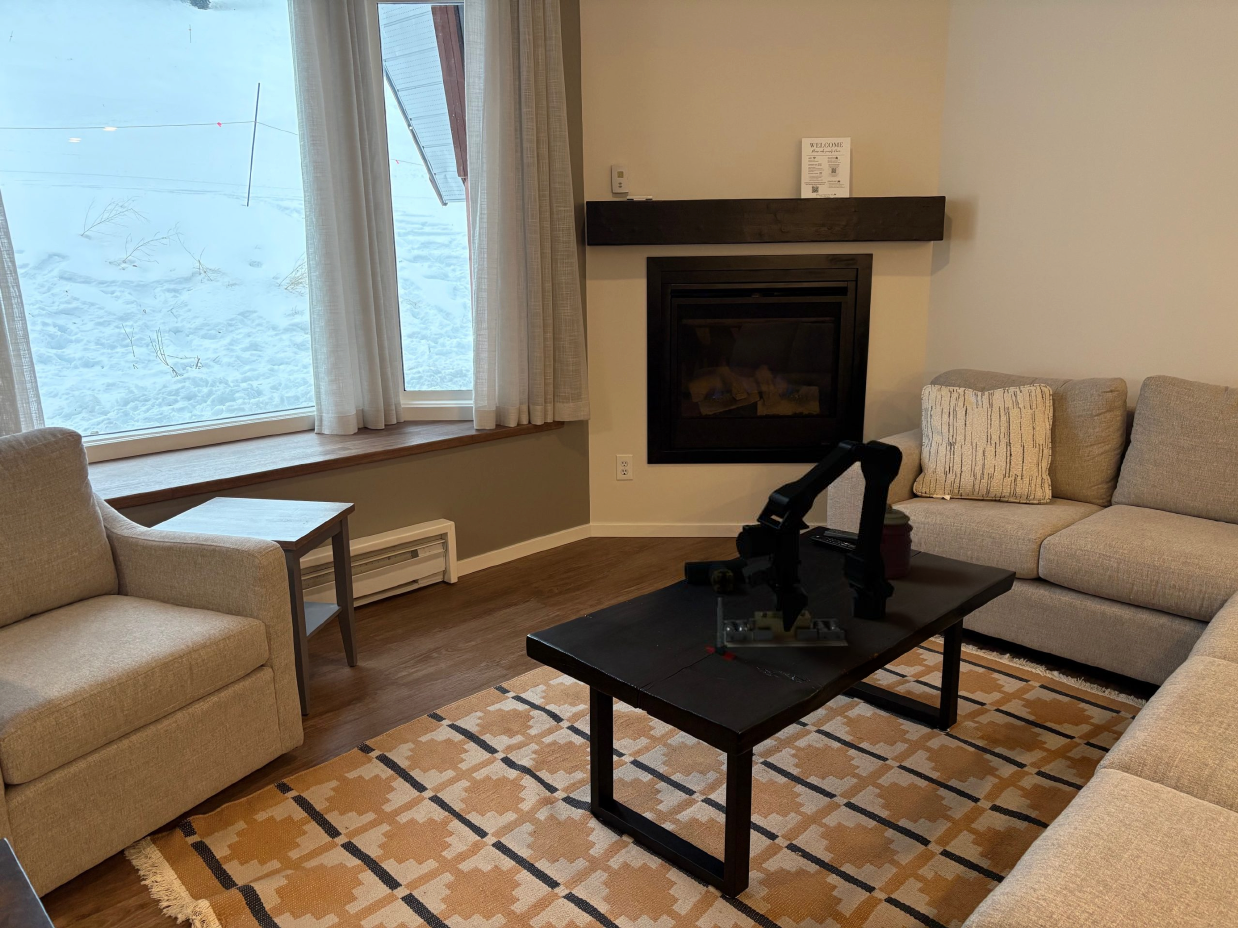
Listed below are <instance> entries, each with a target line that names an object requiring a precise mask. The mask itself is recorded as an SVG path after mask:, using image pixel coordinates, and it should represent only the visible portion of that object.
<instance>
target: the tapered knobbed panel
mask: <svg viewBox="0 0 1238 928" xmlns="http://www.w3.org/2000/svg"><path fill="white" fill-rule="evenodd" d="M754 618H755V630H773V638H797V629H811V624H812V616H811V614H809V612H808V610H802V611H801V613H800V614H799V616H798V618H797V619H796V621H795V623H794V625H793V627H792V628H791V630H790V632H785V631H784V627H783V621H782V614H781V611H776V610H775V611H773V610H772V611H754Z"/></svg>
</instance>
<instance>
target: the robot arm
mask: <svg viewBox="0 0 1238 928" xmlns="http://www.w3.org/2000/svg"><path fill="white" fill-rule="evenodd" d="M903 456H904V454H903V452H902V451H901V448H900V447H898V446H897V445H896V444H895V445H894V444H892V443H891V444H890V443H886V442H884V441H880V440H875V439H873V440H869V441H867V442H866V443H865V442H860V441H853V440H849V439H844V440H840V442H839V443H838V444H837V446H836V448H835V449H833V450H831V452H830V453H828V454H827V455H826V456H824V458H823V459H821V460H820V461H819V462H818V463H817V464H816V465H814V466H813V467H812V468H811V469H810V470H808V472H806V473H805V474H804V475H802V476H801V477H800V478H798V479H797V480H794V481H791V482H789V483H785V484H783V485H781V486H779V487H778V488H777V489H775V490H773V491H772V492H771V493H770V494H769V496H768V498H767V499H768V500H767V501H766V504H765V505H764V507H763V508H762V510H761V511H760V513H759V514H758V517H757V518H756V522H757V523H754V524H744V525H742V529H741V530H742V531H739V532H738V534H737V537H736V539H735V547H736V551H737V553H738V556H739V557H741V559H745V560H746V561H747V560H751V559H757V558H761V557H762V558H763V557H767V559H766V560H763V561H758V562H756V563H752V564H750V565H748V566H746V567H744V568H743V569H742V571H743V574H744V577H745V579H744V580H745V582H746V584H747V588H748V589H750V590H752V589H756V588H757V587H760V586H762V585H767V586H768V588H770V590H771V594H772V599H773V604H774V609H775V611H781V614H782V621H783V627H784V631H785V632H790V630H791V628H792V627H793V625H794V623H795V621H796V619H797V618H798V616H799V614H800V613H801V611H804V610H803V609H806V607H807V606H809V596H808V595H807V593H806V591H805V590H804V588H802V587H801V586H795V585H799V584H801V577H800V575H799V569H800V567H799V566H801V565H802V558H801V557H800V547H801V545H800V542H801V531H805V530H809V529H810V525H809V524H808V523H806V522H805V521H804V518H805V516H806V515H807V514H808V513H809V512H810V511H811V510H812V509H813V505H814V502H815V499H816V498H817V497H818V496H819V495H820V494H821V493H823V492H824V490H826V489H827V488H828V487H829V486H831V484H833V483H834V482H835V481H836V480H837V479H838V478H840V477H841V476H842V475H843V474H844V473H845V472H847V471H848V470H849V469H850V468H851V467H852V466H853V465H855V464H856V463H857V462H858V463H860V470H861V473H862V476H863V479H864V482H865V483H864V491H863V496H862V497H863V498H862V505H861V512H860V519H859V523H860V525H859V524H858V525H859V526H858V533H857V540H856V545H855V547H854V548H853V550H852V551H850V553H848V552H846V553H845V554H844V563H843V567H842V569H841V571H843V573H844V574H843V576H844V579H845V580H846V581H847V584H848V587H849V588H850V589H852V590H854V592H853V596H851V601H850V614H851V616H852V617H853V618H857V619H863V620H869V621H875V620H880V619H883V618H886V608H887V600H888V598H892V596H893V594H894V591H895V587H894V586H893V584H892V583H891V582H890V581H889V580H888V578H885V563H884V560H883V558H882V555H881V552H880V546H881V540H882V533H883V526H884V519H885V512H886V505H887V503H888V497H889V492H890V486H891V485H892V483H893V482H894V481H895V480H896V478H897V477H898V476H899V473H900V470H901V465H902V462H903V458H904V457H903ZM773 516H774V517H776V518H778V519H781V521H780V520H778V519H775V518H773Z"/></svg>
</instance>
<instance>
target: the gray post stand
mask: <svg viewBox="0 0 1238 928" xmlns="http://www.w3.org/2000/svg"><path fill="white" fill-rule="evenodd" d="M717 603H718V604H717V610H716V614H717V616H716V617H717V619H716V620H717V621H716V623H717V633H716V644H715V645H713V646H714V647H712V646H711V647H710V646H706V647H705V651H706V652H709V653H711V654H714V653H715V654H718V655H721V656H722V658H723V659H726V660H728V661H731V662H732V659H735V658H736V657H737V656H738V655H737V654H736V653H732V652H728V647H727V645H725V643H724V626H723V620H724V607H723V598H722V597H718V598H717Z"/></svg>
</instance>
